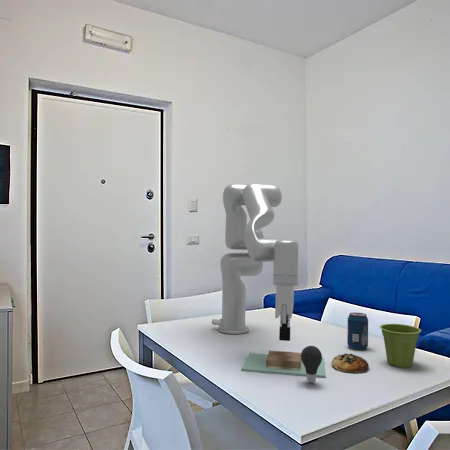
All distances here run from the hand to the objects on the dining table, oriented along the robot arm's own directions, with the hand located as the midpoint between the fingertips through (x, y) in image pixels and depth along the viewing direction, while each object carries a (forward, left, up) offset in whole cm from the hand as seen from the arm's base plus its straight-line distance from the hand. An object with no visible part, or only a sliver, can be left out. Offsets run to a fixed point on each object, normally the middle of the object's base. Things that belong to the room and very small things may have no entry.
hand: (284, 339), depth 126 cm
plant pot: (+35, +10, -8) cm, 37 cm away
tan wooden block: (0, +3, -6) cm, 7 cm away
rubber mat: (0, 0, -8) cm, 8 cm away
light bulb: (+8, -13, -8) cm, 18 cm away
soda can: (+24, +25, -8) cm, 35 cm away
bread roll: (+19, +3, -8) cm, 21 cm away
